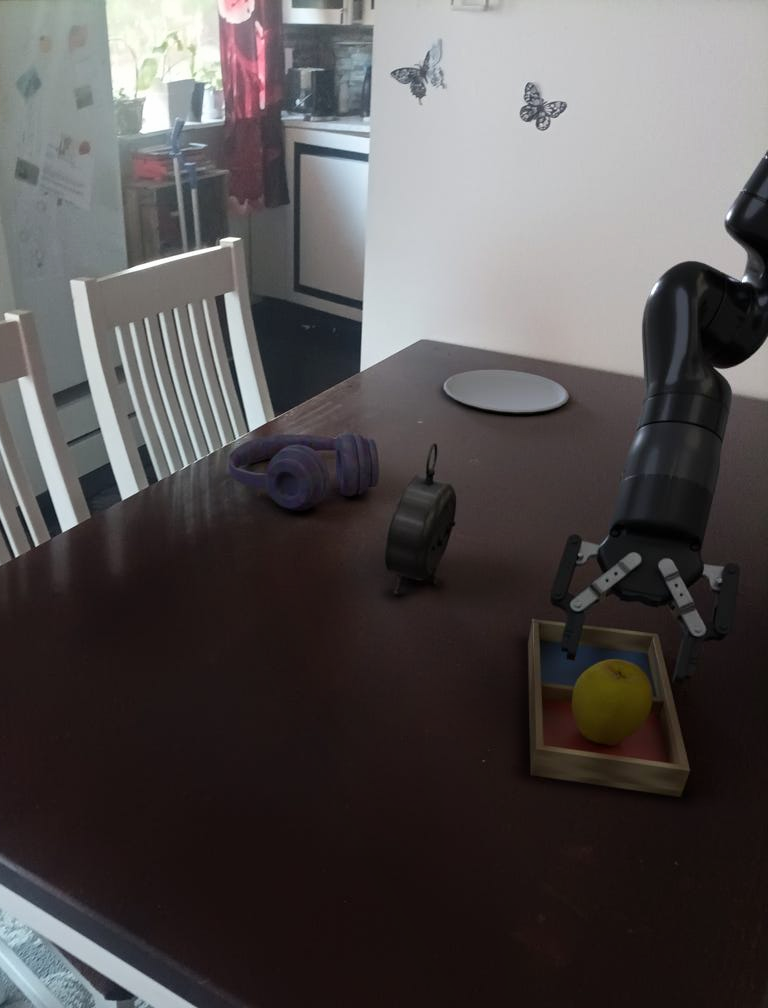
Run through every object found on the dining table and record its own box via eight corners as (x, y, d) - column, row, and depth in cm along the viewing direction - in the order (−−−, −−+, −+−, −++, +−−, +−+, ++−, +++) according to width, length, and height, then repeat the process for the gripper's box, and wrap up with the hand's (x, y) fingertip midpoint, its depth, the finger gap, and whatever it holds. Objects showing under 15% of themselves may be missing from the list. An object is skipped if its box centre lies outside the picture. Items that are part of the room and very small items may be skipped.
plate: (417, 393, 153) (418, 386, 152) (491, 368, 165) (492, 361, 164) (519, 428, 140) (520, 420, 140) (592, 398, 152) (593, 390, 151)
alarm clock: (411, 554, 107) (425, 422, 97) (455, 564, 105) (474, 431, 95) (378, 597, 98) (389, 458, 89) (424, 609, 96) (441, 468, 87)
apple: (585, 766, 75) (606, 690, 70) (551, 717, 80) (568, 644, 76) (654, 756, 76) (679, 680, 72) (616, 709, 81) (637, 636, 77)
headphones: (401, 493, 119) (315, 463, 134) (400, 431, 115) (312, 408, 130) (285, 526, 110) (208, 491, 126) (280, 461, 107) (201, 432, 122)
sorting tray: (650, 658, 90) (658, 633, 88) (680, 797, 73) (690, 770, 72) (527, 643, 91) (532, 618, 90) (530, 775, 75) (536, 748, 74)
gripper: (582, 458, 75) (536, 642, 73) (767, 486, 71) (724, 683, 69) (578, 491, 82) (536, 660, 80) (747, 519, 78) (707, 698, 76)
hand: (623, 670), depth 74 cm, fingers open, 8 cm apart
